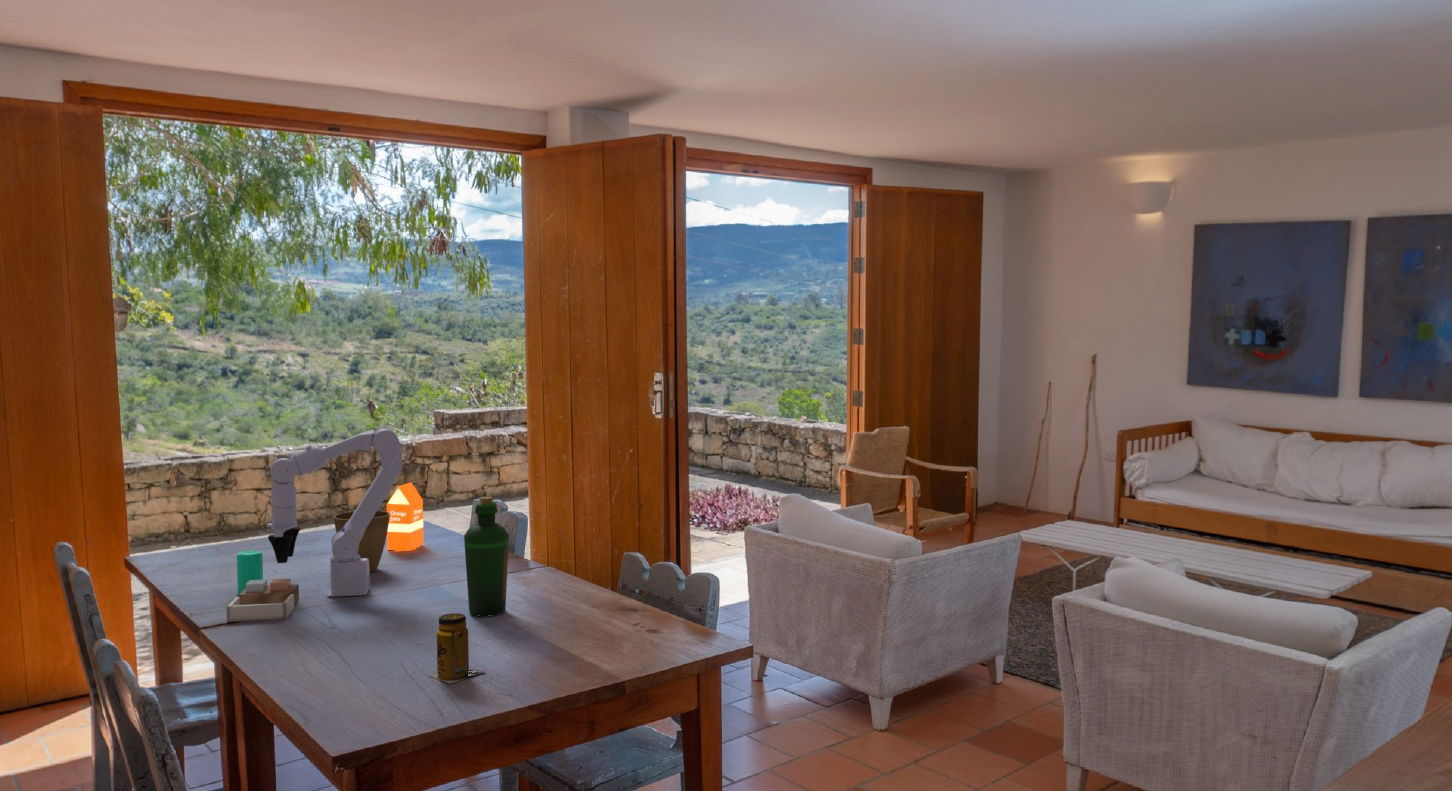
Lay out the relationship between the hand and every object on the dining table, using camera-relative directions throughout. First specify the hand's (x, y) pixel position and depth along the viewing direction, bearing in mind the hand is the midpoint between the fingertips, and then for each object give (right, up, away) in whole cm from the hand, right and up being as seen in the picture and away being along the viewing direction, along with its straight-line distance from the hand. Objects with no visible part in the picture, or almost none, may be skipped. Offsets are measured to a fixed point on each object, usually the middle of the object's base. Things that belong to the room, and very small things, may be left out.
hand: (285, 559), depth 253 cm
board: (-1, -10, -6) cm, 12 cm away
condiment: (+58, -14, -54) cm, 80 cm away
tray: (+1, -11, -14) cm, 18 cm away
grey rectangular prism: (-4, -6, -7) cm, 10 cm away
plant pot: (+9, -8, +30) cm, 32 cm away
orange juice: (+12, -6, +58) cm, 59 cm away
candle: (-11, -10, +6) cm, 16 cm away
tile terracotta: (+1, -6, -5) cm, 8 cm away
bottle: (+54, -11, -11) cm, 56 cm away
